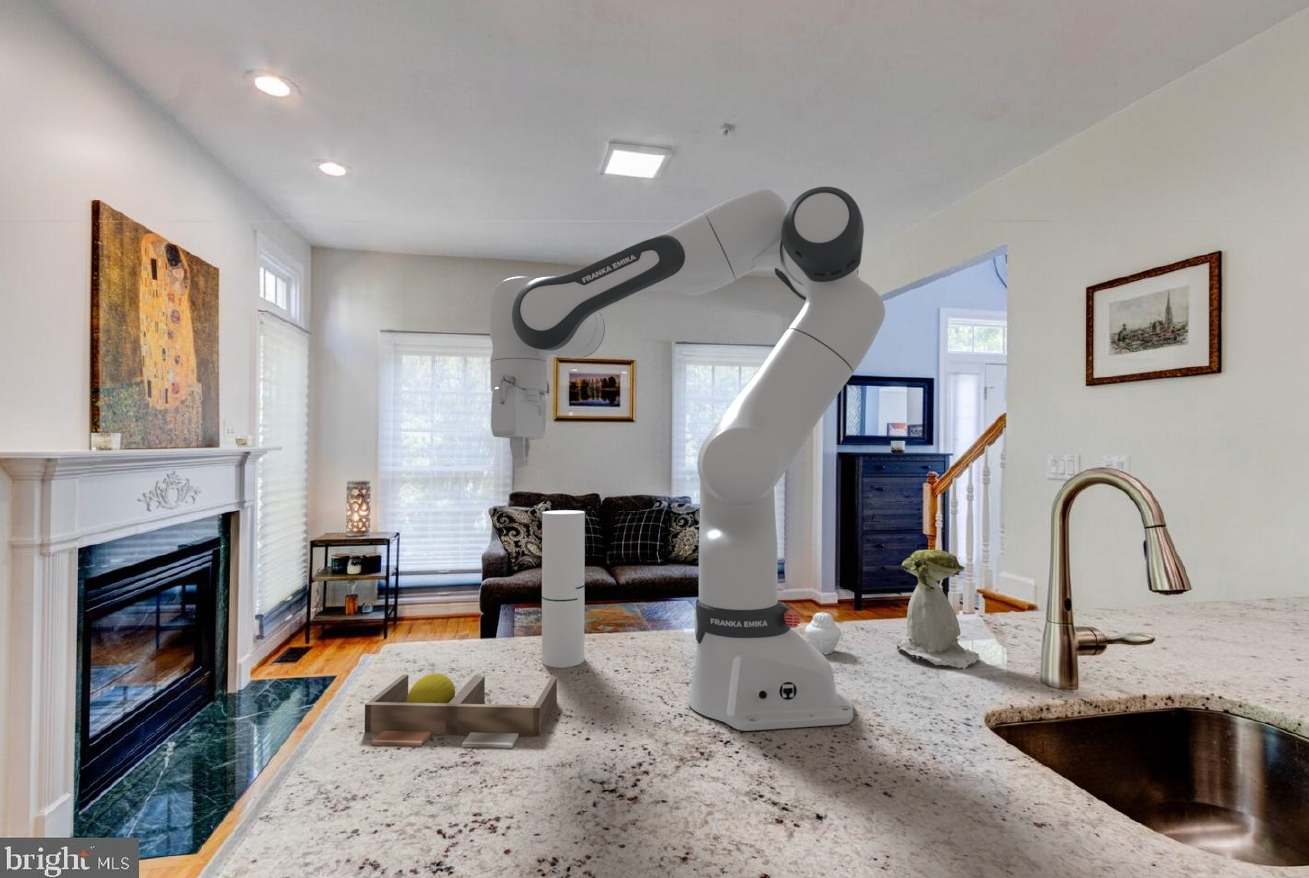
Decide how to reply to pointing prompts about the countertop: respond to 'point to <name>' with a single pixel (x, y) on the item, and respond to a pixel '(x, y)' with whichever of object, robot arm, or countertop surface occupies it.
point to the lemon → (432, 690)
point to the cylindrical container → (563, 587)
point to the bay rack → (455, 716)
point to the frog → (934, 611)
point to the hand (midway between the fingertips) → (520, 467)
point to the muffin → (823, 632)
